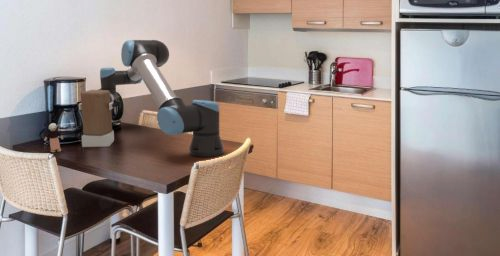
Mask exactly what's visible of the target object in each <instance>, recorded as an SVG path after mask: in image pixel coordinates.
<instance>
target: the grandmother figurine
mask: <svg viewBox="0 0 500 256" xmlns="http://www.w3.org/2000/svg"><path fill="white" fill-rule="evenodd" d="M57 127H58V125H57V124H56V123H55V122H52V123H50V124H49V125H48V130H50V131H49V132H47V133H46V135H45V136H44V139H43V140H44V141H45V142H46V141H48V139H49V147H50V152H51V153H56V152H61V151H62V149H61V144H60V140H64V137H63V134H61V133H60V131H57ZM59 138H60V140H59Z"/></svg>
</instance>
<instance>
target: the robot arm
mask: <svg viewBox="0 0 500 256" xmlns="http://www.w3.org/2000/svg"><path fill="white" fill-rule="evenodd" d="M120 55H121V62H122V65H123V66H124V67H128V68H129V67H130V68H129V69H127V70H116V69H115V67H101V68H100V70H99V80H100V90H108V91H110V104H109V110H111V111H112V109H114V108H116V107H117V108H121V101H120V100H118V97H119V95H118V93H117V86H124V85H136V84H141V83H142V81H143V83H144V85H145V86H146V88H147V90H148V91H149V94H151V96H152V98H153V99H154V101H155V103H156V104H157V106H158V109H157V114H156V121H157V125H158V127H159V129H160V130H161V132H162V133H164V134H165V135H168V136H179V135H181V134H187V133H192V137H191V141H190V144H189V147H188V148H189V149H188V152H189V155H191V156H194V157H201V158H203V157H204V158H205V157H207V158H209V157H218V156H220V155H222V154H224V144H223V141H222V139H221V136H220V135H221V134H220V105H219V103H218V102H216V101H213V100H207V99H206V100H203V99H193V100H192V101H191V104H186V103H185V101H184V100H183V98H182V97H178V96H177V95H176V94H175V92H174V91H173V89H172V87H171V86H170V84H169V83H168V81H167V79H166V78H165V77H164V76H165V75H164V74H163V73H162V72H161V70H160V68H161V67H162V66H164V65H165V64H166V63H167V62H168V61H169V58H170V51H169V47H168V46H167V45H166V44H165V43H164V42H162V41H161V40H157V39H130V40H125V41H124V42H123V44H122V47H121V53H120ZM76 108H78V111H82V106H81V100H80V101H76Z"/></svg>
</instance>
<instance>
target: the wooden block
mask: <svg viewBox="0 0 500 256" xmlns="http://www.w3.org/2000/svg"><path fill="white" fill-rule="evenodd" d="M80 101H81V106H82V110H81V116H82V118H81V119H82V131H83V135H84V134H85V135H101V136H102V135H104V134H106V133H109V132H111V131H112V130H113V123H112V109H111V110H109V104H110V91H108V90H101V89H89V90H85V91H82V92H80Z"/></svg>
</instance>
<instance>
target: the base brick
mask: <svg viewBox="0 0 500 256" xmlns="http://www.w3.org/2000/svg"><path fill="white" fill-rule="evenodd" d="M114 132H115V131H114V130H113V129H112V131H111V132H109V133H106V134H104V135H102V136H101V135H85V134H84V133H83V135H81V147H82V148H96V147H97V148H99V147H101V148H102V147H103V148H104V147H106V148H107V147H110V146H111V145H112V144H113V143H114V141H115V133H114Z"/></svg>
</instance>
